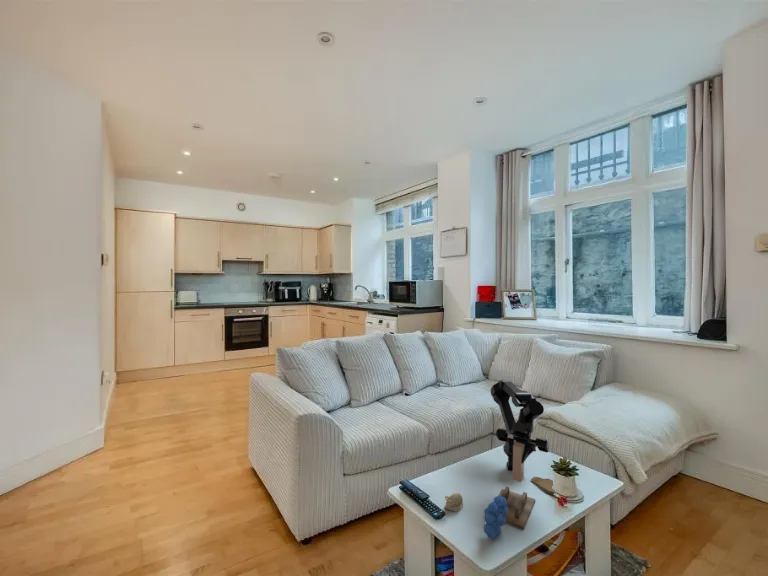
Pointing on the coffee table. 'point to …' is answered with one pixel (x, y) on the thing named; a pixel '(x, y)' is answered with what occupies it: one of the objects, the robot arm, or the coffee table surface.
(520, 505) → the walnut rack
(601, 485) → the coffee table surface
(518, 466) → the brown rectangular box
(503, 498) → the grapes
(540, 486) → the pottery shard
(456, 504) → the decorative ornament
